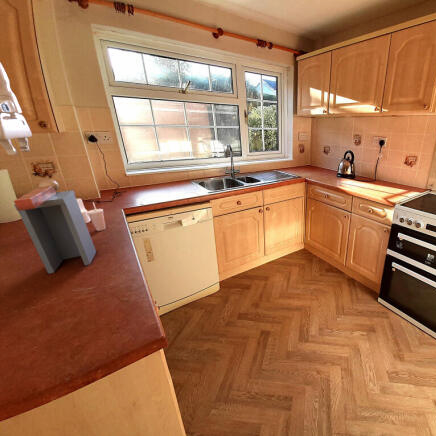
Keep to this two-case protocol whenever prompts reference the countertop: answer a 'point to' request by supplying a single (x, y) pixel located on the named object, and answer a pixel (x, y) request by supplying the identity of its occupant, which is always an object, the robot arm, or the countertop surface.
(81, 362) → the countertop surface
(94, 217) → the smoothie
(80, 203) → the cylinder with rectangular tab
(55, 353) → the countertop surface
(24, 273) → the countertop surface
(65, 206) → the shelf
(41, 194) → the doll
